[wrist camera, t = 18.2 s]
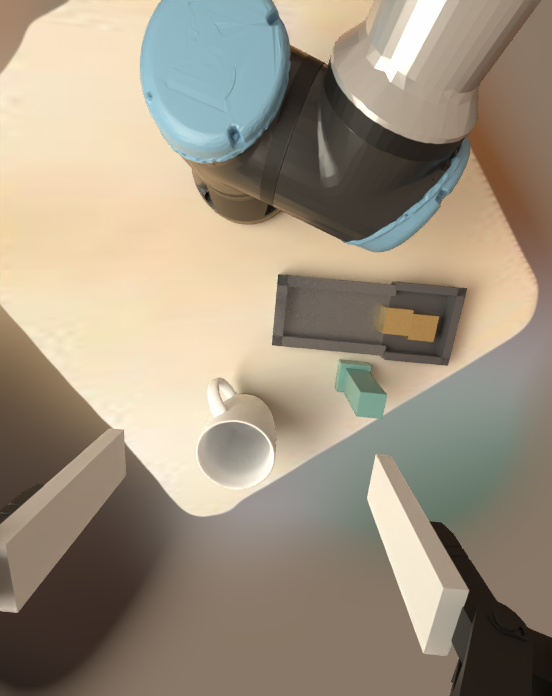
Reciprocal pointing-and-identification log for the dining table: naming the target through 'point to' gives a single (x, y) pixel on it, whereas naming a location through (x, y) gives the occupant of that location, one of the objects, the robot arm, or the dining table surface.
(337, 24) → the dining table surface
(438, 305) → the tray
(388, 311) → the chip
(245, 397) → the mug
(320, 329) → the dark gray shallow tray
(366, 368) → the teal t-shaped block
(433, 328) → the chip
